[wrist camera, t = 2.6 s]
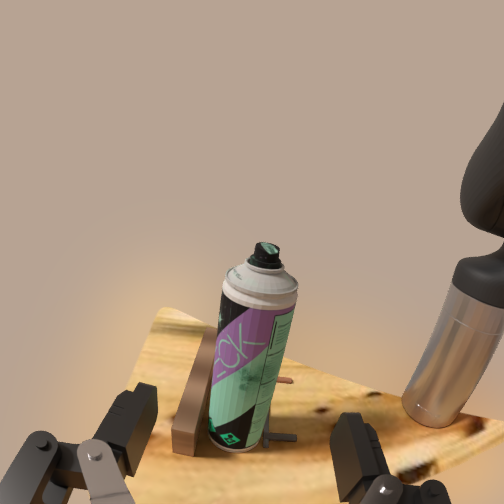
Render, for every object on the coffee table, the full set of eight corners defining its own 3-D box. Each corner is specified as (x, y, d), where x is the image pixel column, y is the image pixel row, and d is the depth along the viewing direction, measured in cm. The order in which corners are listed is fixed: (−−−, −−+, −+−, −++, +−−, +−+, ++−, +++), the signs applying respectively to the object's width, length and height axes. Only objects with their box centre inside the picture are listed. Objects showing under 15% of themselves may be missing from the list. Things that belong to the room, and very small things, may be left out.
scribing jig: (204, 351, 40) (206, 327, 39) (289, 363, 40) (295, 340, 39) (172, 452, 23) (171, 428, 21) (298, 468, 22) (309, 446, 21)
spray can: (229, 407, 30) (256, 231, 24) (270, 431, 27) (318, 250, 22) (196, 432, 26) (211, 240, 20) (239, 462, 23) (283, 264, 17)
